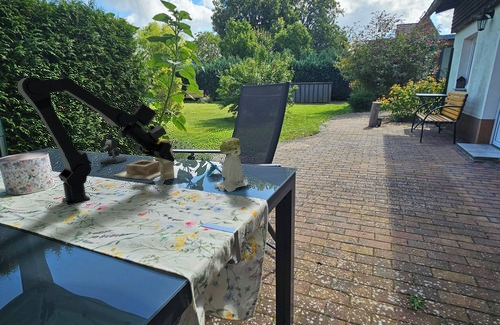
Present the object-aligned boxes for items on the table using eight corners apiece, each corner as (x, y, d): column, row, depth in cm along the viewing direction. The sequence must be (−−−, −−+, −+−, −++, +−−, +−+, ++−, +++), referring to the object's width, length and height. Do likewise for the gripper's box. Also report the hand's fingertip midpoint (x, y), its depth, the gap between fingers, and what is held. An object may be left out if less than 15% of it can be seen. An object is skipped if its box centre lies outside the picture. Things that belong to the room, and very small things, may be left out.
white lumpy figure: (255, 185, 106) (255, 137, 102) (232, 194, 97) (231, 141, 92) (232, 179, 114) (231, 134, 109) (208, 187, 104) (206, 138, 100)
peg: (174, 177, 117) (172, 144, 113) (165, 179, 114) (163, 145, 111) (169, 175, 119) (166, 143, 116) (160, 177, 116) (157, 144, 113)
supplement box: (161, 162, 144) (160, 141, 141) (154, 160, 147) (153, 140, 145) (171, 160, 148) (169, 139, 146) (164, 158, 152) (162, 138, 149)
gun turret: (93, 168, 132) (89, 141, 129) (104, 159, 151) (100, 135, 148) (122, 166, 135) (118, 140, 132) (129, 157, 154) (126, 134, 151)
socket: (172, 170, 128) (171, 160, 127) (149, 180, 113) (148, 169, 112) (139, 167, 134) (138, 157, 133) (114, 176, 119) (112, 165, 118)
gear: (227, 174, 115) (208, 158, 113) (217, 185, 115) (199, 169, 112) (223, 171, 126) (206, 156, 124) (214, 180, 125) (197, 166, 123)
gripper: (165, 120, 101) (192, 146, 112) (140, 118, 114) (166, 141, 124) (147, 145, 98) (176, 169, 108) (123, 139, 110) (151, 161, 120)
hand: (167, 159), depth 115 cm, fingers open, 9 cm apart
